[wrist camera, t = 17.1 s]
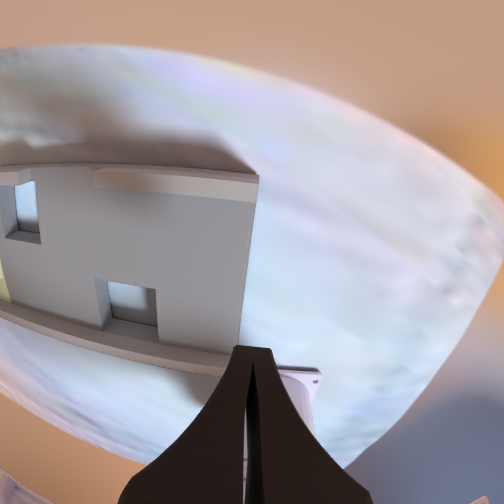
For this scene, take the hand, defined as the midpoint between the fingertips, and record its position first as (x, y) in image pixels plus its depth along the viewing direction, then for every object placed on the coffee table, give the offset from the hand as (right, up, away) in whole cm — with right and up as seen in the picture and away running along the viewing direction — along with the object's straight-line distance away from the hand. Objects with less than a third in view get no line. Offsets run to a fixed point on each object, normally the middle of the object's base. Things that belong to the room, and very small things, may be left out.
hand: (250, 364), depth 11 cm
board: (-14, +4, +10) cm, 18 cm away
